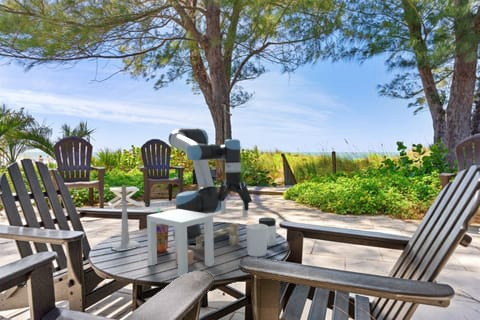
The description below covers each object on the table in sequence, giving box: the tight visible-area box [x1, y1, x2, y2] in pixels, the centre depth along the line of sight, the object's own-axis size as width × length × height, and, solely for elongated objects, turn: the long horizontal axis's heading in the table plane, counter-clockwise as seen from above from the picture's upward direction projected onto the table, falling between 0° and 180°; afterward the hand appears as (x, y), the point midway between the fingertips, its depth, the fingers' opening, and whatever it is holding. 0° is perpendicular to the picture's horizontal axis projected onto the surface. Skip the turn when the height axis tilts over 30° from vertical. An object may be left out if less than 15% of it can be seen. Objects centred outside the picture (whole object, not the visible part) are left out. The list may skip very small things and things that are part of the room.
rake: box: [187, 222, 240, 262], centre depth 136 cm, size 26×12×10 cm, turn 141°
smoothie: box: [156, 207, 170, 254], centre depth 136 cm, size 8×8×20 cm
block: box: [175, 248, 195, 266], centre depth 121 cm, size 5×5×5 cm
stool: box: [146, 208, 215, 277], centre depth 119 cm, size 21×16×20 cm
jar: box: [258, 216, 277, 247], centre depth 145 cm, size 9×8×12 cm
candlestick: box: [111, 184, 140, 249], centre depth 143 cm, size 13×13×30 cm
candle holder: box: [245, 223, 268, 258], centre depth 131 cm, size 10×10×12 cm
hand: (234, 215), depth 144 cm, fingers open, 13 cm apart
